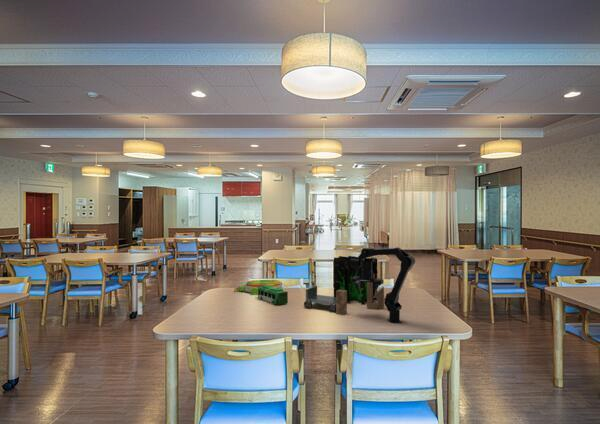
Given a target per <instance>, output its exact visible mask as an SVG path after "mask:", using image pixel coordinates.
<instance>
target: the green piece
mask: <svg viewBox="0 0 600 424" xmlns="http://www.w3.org/2000/svg"><path fill="white" fill-rule="evenodd" d="M266 285H270V286H273V287H277V288H280V289H283V285H282V281H280V280H279V279H278V280H277V279H252V280H249V281H246V282H245V284H239V285H238V286H237V287H235V288H234V290H233V292H234V293H238V291H241V292H242V291H243V292H248V293H250V294H251V295H253V296H258V287H262V286H266Z"/></svg>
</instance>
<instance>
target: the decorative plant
mask: <svg viewBox="0 0 600 424" xmlns="http://www.w3.org/2000/svg"><path fill="white" fill-rule="evenodd" d="M351 258H352V255H348V256H341V255H339V256H338V257H333V297H336V291H337V290H347V304H348V303H349V304H350V302H352V301H353V302H354V301H355V302H357V303H359V304H361V305H365V303H367V282H363V281H360V282H361V283H360V290H361V292H360V294H359V292H358V290H357V288H356V286H355V284H353V282H351V278H352V277H354V276H359V277H360V278H362V266H361V268H354V267H351V266H350V260H351ZM368 258H369V259H370V258H371V257H368ZM365 259H366V258H364V259H362V260H365ZM373 259H374V260H375V261H374V262H372V270H373V273H374V274H375V279H376V278H378V258H375V257H373ZM374 284H375V283H373V296H374ZM377 292H378V290H377V291H376V293H377ZM375 301H377V302H378V298H373V302H375Z"/></svg>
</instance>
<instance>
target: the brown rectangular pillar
mask: <svg viewBox="0 0 600 424" xmlns="http://www.w3.org/2000/svg"><path fill="white" fill-rule="evenodd" d="M347 313H348V302H347V290H337V291H336V312H335V314H336V315H341V316H345V315H346V314H347Z"/></svg>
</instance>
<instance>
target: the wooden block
mask: <svg viewBox="0 0 600 424" xmlns="http://www.w3.org/2000/svg"><path fill="white" fill-rule="evenodd" d="M368 281H369V280H368ZM373 298H377V302H375V301H374V302H373ZM384 299H385V287H384V286H382V287H381V288H380V289H379V290H377V293H376V294H375V296H373V282H367V302H366V309H367V310H368V309H369V310H370V309H371V310H384V309H385V304H384V301H385V300H384Z"/></svg>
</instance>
